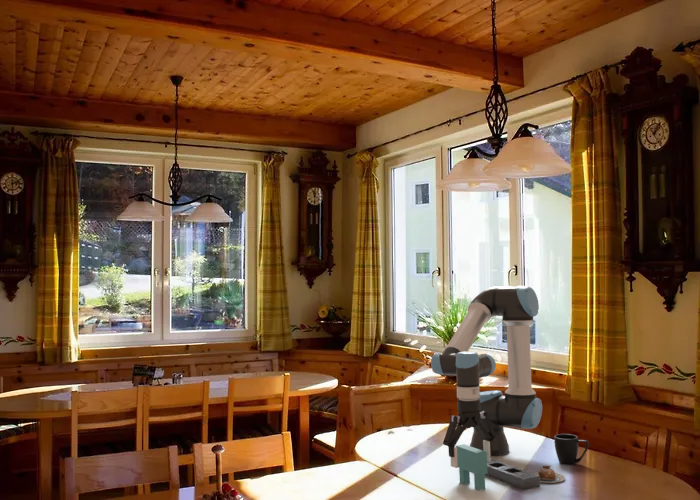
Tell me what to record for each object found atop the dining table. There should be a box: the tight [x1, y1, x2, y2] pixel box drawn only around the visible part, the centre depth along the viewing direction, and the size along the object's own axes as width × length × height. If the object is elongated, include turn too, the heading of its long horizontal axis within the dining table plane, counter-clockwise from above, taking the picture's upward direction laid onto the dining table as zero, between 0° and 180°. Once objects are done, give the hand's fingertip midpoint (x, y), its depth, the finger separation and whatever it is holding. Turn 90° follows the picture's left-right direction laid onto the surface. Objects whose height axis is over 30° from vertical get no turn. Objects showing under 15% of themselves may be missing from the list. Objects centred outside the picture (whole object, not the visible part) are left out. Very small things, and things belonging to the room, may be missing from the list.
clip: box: [455, 443, 488, 491], centre depth 214 cm, size 12×4×12 cm, turn 27°
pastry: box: [533, 465, 566, 484], centre depth 219 cm, size 12×12×5 cm
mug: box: [553, 433, 590, 466], centre depth 235 cm, size 8×12×10 cm
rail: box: [485, 458, 541, 491], centre depth 221 cm, size 26×7×4 cm, turn 27°
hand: (470, 463), depth 214 cm, fingers open, 13 cm apart
